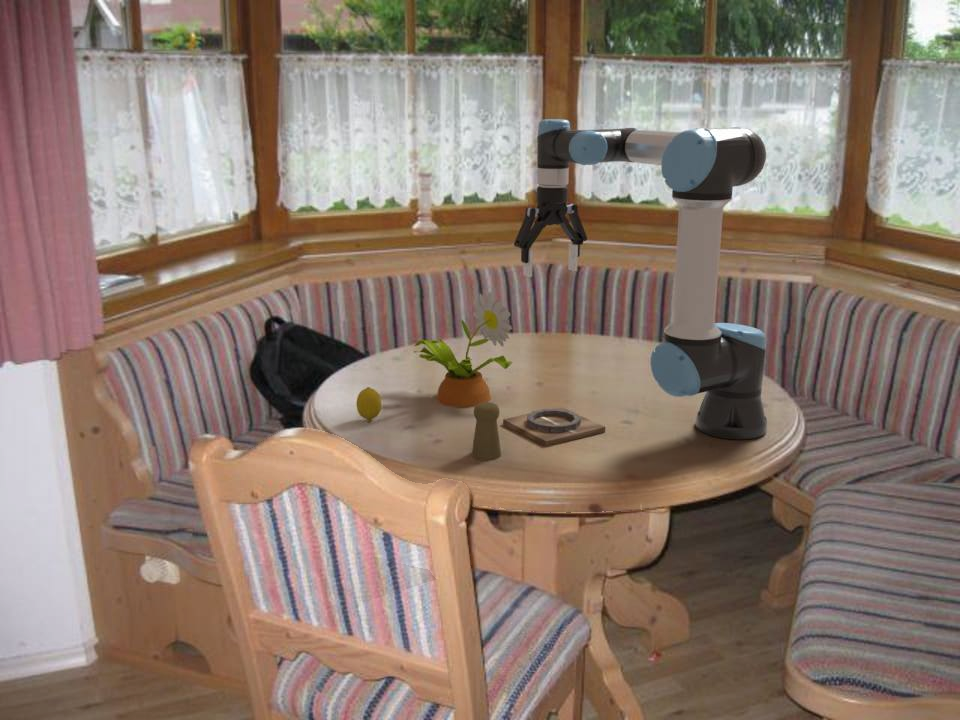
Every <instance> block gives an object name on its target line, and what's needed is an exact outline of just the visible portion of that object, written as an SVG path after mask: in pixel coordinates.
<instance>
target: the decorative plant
mask: <svg viewBox="0 0 960 720" xmlns="http://www.w3.org/2000/svg"><path fill="white" fill-rule="evenodd" d="M478 297H479V299H478V300H477V301H476V300H472V304H473V307H474V308H473V310H474V312H473V313H472V315H473V317H474V318H476V322H477V325H476V329H475V331H474V333H473V334H471V333H470V330H469V328H468V326H467V324H466V323H465V321H464V320H463V319H461V327H462V329H463V331H464V333H465V335H466V337H467V339H468V340H469V341H468V344H467V349H466V352H465V359H462V360H461V361H460V362H459V361H458V360H457V358H456V356H455V355H454V352H453V350H452V349H451V347H450V345H448V344H446V343H445V342H444V341H443V339H440V338H439V339H435V340H433V339H432V338H430V340H426V339H420V340H417V341H416V342H415V344H414V347H417V346H420V345H425V346H427V348H426V347H425V346H423V348H422V349H421V350H419V351H418V350H413V354H415V353H420V354H419V356H418V358H422V359H425V360H426V361H429V362H436V363H437V364H440V365H441V366H444V368H445V369H446V370H447V372H446V373H445V375H444V379H443V380H442V381H441V383H440V384H439V386H438V389H437V395H436V397H435V398H436V402H437V403H439V404H441V405H442V406H443V405H444V406H447V407H451V408H473V407H474V408H475V406H476V405H477V404H479V403H482V402H491V401H492V396H491V393H490V388H489V386H488V383H487V382H486V380H485V379H484V378H483V374H482V372H480V371H479V370H481V369H483V368H484V367H485V366H488V365H489V364H491V363H493V362H495V363H497V364H498V365H499V366H501V367H502V368H504V370H507V369H508V368H509V367H510V366H511V365H512V364H513V362H512V361H510V360H507V359H506V357H505V356H504V355H500V356H499V357H498V356H496V357H490V358H489V359H487V360H486V361H484V362H483V363H481V364H480V365H478V366H477V367H476V368H474V369H473V368H472V367H473V364H472V362H471V361H473V359H472V358H470V357H469V356H468V355H469V351H470V347H477V346H481V345H483V344H485V343H488V342H489V341H491V342H492V344H493V346H497V343H498V344H499V345H500V346H501V347H504V344H505V343H504V342H507V340H508V339H510V336H509V334H508V333H510V330H513V327H512V325H511V324H510V320H509V319H508V318H509V317H510V316H511V312H510V311H507V310H506V307H505V306H504V301H499V300H498V299H496V300H493V295H492V292H491V291H489V292H488V293H487V294H485V295H483V294H482V293H479V296H478ZM478 331H481V332H482V335H483V338H482V339H478V340H476V341H474V342H472V339H473V338H474V337H475V336H476V334H477V332H478ZM471 335H472V336H471ZM423 353H424V354H423Z"/></svg>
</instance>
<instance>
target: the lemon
mask: <svg viewBox="0 0 960 720" xmlns="http://www.w3.org/2000/svg"><path fill="white" fill-rule="evenodd" d="M356 409H357V410H356V411H357V413H358V414H359V416H360V417H361V418H362V419H365V420H367V422H371V421H372V420H373V419H375V418H376V417H378V416H379V414H380V413H381V410H382V399H381V396H380V394H379V392H378V391H377V390H376V389H374V388H372V387H370V386H367V387H366V388H364V389H362V390H361V391H359V393H358V395H357V398H356Z"/></svg>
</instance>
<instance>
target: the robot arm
mask: <svg viewBox="0 0 960 720" xmlns="http://www.w3.org/2000/svg"><path fill="white" fill-rule="evenodd" d="M536 140H537V141H536V142H537V143H536V144H537V145H536V146H537V148H536V149H537V152H536V153H537V154H536V155H537V156H536V160H537V162H536V163H537V166H536V168H537V169H536V183H537V187H536V203H537V207H536V208H535V207H529V206H527V207H526V209H525V215H524V218H523V221H522V224H521V225H520V228H519V231H518V234H517V235H516V237H515V240H514V243H513V246H514V247H516V248H518V249H520V250H521V251H520V252H521V253H520V255H521V256H520V258H521V259H520V261H521V263H522V264H523V268H522V269H523V270H522V272H523V276H524V277H528V278H532V277H533V260H534V259H533V258H534V257H533V253H534V251H533V249H531V248H532V247H533V244H534V243H535V241H536V239H537V238H538V237H539V235H540V234H541V232H542V231H543V230H544V228H546V227H547V226H553V225H556V226H557V225H559V226H560V228H561V229H562V230H563V232H564V234H566V236H567V237H568V239H569V240H570V241H571V243H568V259H567V260H568V261H567V262H568V265H567V266H568V270H569V271H573V272H578V258H579V257H580V256H581V255H580V254H581V251H580V250H581V246H582V245H583V244H584V242H586V241H587V240H588V237H587V234H586V231H585V229H584V227H583V224H582V221H581V218H580V215H579V209H578V205H577V204H574V203H568V204H567V202H568V201H569V187H568V184H569V177H570V176H569V173H570V170H569V168H570V166H569V164H570V163H571V164H578V165H581V166H594V165H597V164H599V163H600V164H601V163H610V162H611V163H615V162H616V163H617V162H625V163H635V164H636V163H638V164H647V165H656V166H661V169H660V170H661V174H662V178H664V179H665V180H664V183H665V184H666V186H667V187H668V188H669V189H671V191H672V194H671V198H672V200H673V201H674V202H675V203H676V204H677V205H678V221H677V235H676V236H677V237H676V250H675V251H676V252H675V253H676V255H675V270H674V271H675V272H674V273H675V274H674V284H673V303H672V319H671V320H672V321H671V322H670V323H669V324H668V325H667V326H666V327H665V328H664V329H663V342H661V343H658V345H656V346H655V348H654V349H653V350H652V352H651V355H650V371H651V373H652V376H653V378H654V380H655V382H657V384H658V386H659V387H660V388H661V390H663V391H664V393H666V394H667V395H669V396H672V397H677V398H679V397H680V398H682V397H693V396H695V395H698V394H701V393H705V394H704V396H703V399H702V401H701V405H700V407H699V410H698V411H697V412H696V419H695V420H696V421H695V427H696V428H697V430H699V431H700V432H702V433H704V434H706V435H709V436H711V437H712V436H713V437H714V438H715V437H716V438H719V439H727V440H728V439H729V440H749V439H750V440H752V439H757V438H759V437H762V436H764V435H765V434H766V433H767V429H768V419H767V417H766V415H765V411H764V405H763V399H762V390H763V381H764V380H763V378H764V369H765V358H766V351H767V348H766V335H765V333H764V332H763V331H762V330H761V329H758V328H757V327H756V328H755V327H752V326H748V325H744V324H738V323H729V322H716V311H717V310H716V309H717V296H718V284H719V283H718V281H719V270H720V256H721V243H722V242H721V241H722V229H723V217H724V216H723V215H724V208H725V206H726V205H727V204H729V203H730V202H731V201H732V200H733V188H734V187H741V186H745V185H747V184H749V183H751V182H752V181H754V180H755V179H756V178H757V177H758V176H759V175H760V173H762V171H763V169H764V167H765V165H766V164H765V163H766V159H767V150H766V146H765V143H764V141H763V140H762V138H761V137H760V136H759V135H758V134H757V133H756V132H755V131H752V130H751V129H750V128H749V129H748V128H745V127H739V126H738V127H737V126H736V127H735V126H734V127H719V128H718V127H713V128H712V127H710V128H708V127H707V128H706V127H704V128H703V127H699V128H694V129H689V130H688V129H687V130H682V131H681V132H680V131H667V130H665V131H664V130H652V129H641V128H637V127H625V128H612V129H611V128H606V129H605V128H604V129H571V124H570V121H569V120H568V119H563V118H562V119H557V118H556V119H554V118H552V119H551V118H550V119H541V120H540V121H539V122H538V127H537V137H536ZM566 214H568V218H569V219H568V218H567V216H566ZM570 223H571V224H570Z"/></svg>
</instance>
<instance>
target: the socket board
mask: <svg viewBox="0 0 960 720" xmlns="http://www.w3.org/2000/svg"><path fill="white" fill-rule="evenodd" d="M502 425H504V426H506V427H508V428H509V429H511V430H513V431H515V432H517V433H519V434H521V435H523V436H525V437H526V438H529V439H530V440H533V441H535V442H536V443H538V444H540V445H542V446H544V447H550V446H554V445H559V444H562V443H567V442H570V441H574V440H578V439H582V438H587V437H591V436H594V435H599V434H604V433H606V426H605V425H602V424H600V423H599V422H595V421H593V420H591V419H589V418H587V417H584V416H583V415H581V414H578V413H575V412H574V411H572V410H569V409H566V408H564V407H562V406H557V407H553V408H543V409H538V410H534V411H532V412H529V413H526V414H521V415H517V416H512V417H507V418H503V419H502Z"/></svg>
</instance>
